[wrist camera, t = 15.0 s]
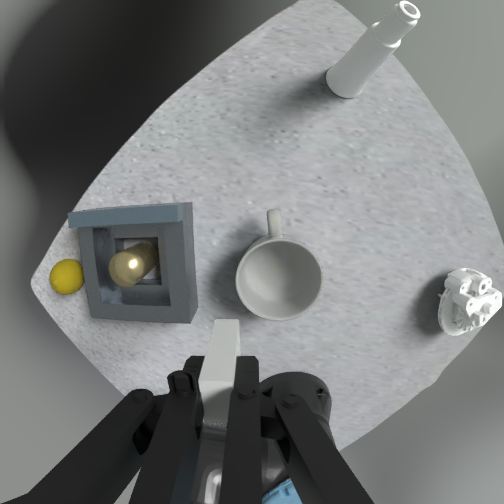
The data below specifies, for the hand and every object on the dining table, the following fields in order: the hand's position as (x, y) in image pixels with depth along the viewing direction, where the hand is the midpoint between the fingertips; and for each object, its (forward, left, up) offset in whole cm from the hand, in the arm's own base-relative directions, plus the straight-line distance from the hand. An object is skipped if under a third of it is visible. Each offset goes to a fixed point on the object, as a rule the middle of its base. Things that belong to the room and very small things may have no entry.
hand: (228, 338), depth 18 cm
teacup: (0, -5, -25) cm, 25 cm away
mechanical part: (-8, -38, -25) cm, 46 cm away
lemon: (-2, +28, -25) cm, 37 cm away
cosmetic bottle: (+27, -16, -25) cm, 40 cm away
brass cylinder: (0, +15, -24) cm, 29 cm away
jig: (0, +15, -24) cm, 29 cm away
